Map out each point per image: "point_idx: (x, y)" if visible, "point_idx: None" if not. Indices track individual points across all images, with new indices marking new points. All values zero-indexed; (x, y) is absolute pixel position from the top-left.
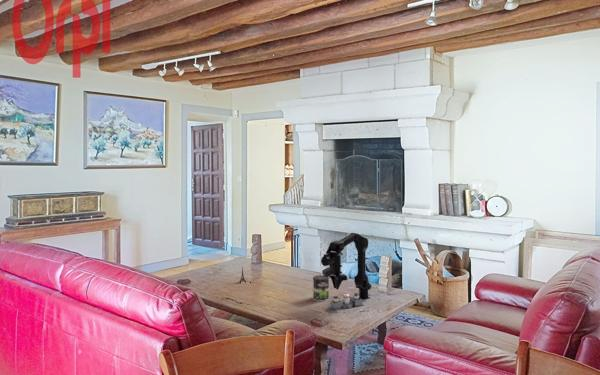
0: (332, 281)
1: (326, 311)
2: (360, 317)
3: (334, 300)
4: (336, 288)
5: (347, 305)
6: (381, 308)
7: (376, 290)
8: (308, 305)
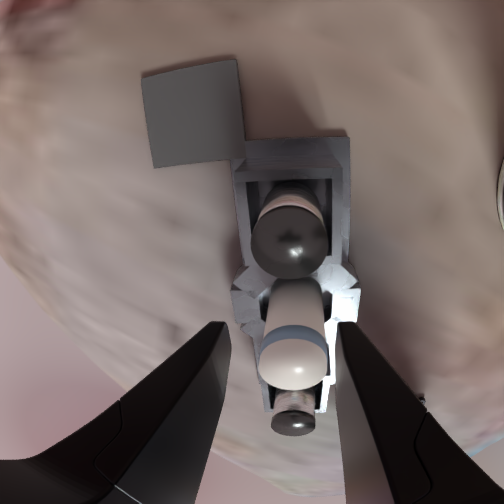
0: (416, 445)
1: (210, 66)
2: (74, 274)
3: (274, 199)
4: (201, 332)
5: (239, 293)
6: None
7: None
8: (449, 3)
